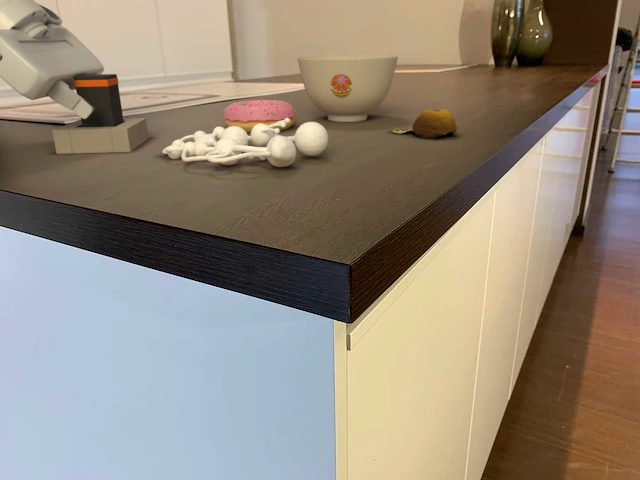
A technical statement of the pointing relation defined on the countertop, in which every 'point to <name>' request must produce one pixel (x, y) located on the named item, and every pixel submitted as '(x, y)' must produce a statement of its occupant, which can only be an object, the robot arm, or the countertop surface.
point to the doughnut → (258, 113)
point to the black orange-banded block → (101, 99)
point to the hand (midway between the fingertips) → (104, 109)
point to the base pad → (100, 137)
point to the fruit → (432, 124)
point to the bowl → (347, 83)
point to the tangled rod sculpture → (235, 141)
